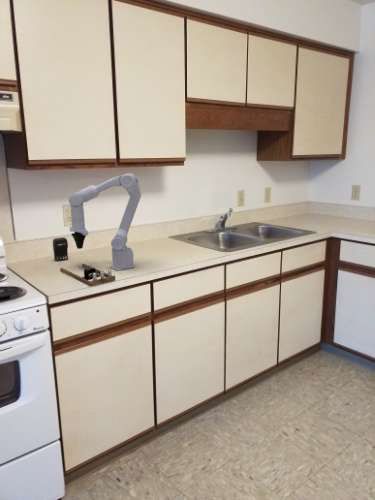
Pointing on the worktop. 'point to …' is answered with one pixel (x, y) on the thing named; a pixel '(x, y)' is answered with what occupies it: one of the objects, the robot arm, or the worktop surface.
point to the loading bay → (95, 280)
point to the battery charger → (60, 249)
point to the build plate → (88, 271)
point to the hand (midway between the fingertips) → (79, 248)
